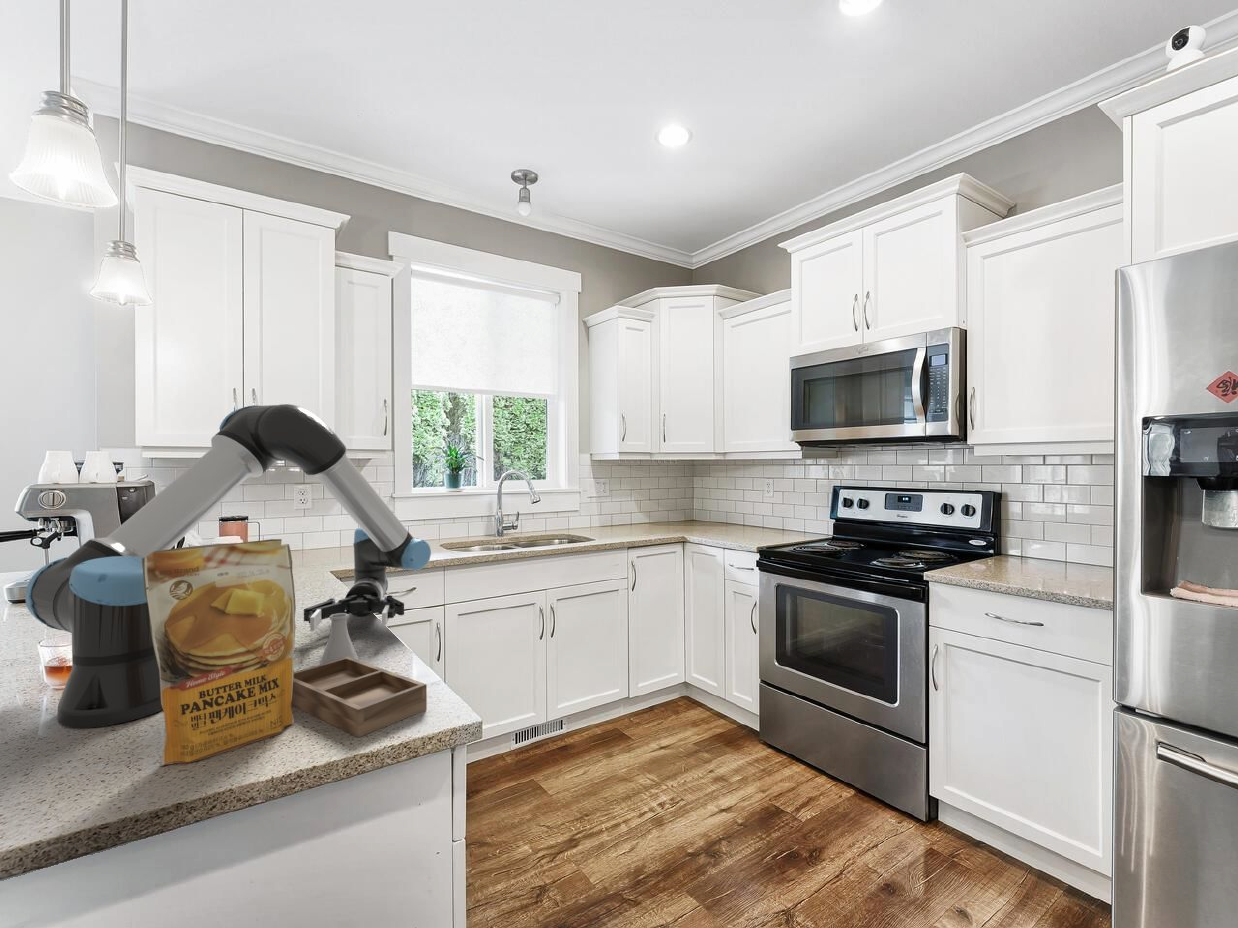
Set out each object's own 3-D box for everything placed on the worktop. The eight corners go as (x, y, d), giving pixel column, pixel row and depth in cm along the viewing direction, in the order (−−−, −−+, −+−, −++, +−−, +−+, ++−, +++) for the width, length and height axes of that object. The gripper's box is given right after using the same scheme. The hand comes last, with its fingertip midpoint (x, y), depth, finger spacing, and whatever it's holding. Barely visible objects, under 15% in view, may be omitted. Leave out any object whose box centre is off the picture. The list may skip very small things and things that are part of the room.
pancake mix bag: (138, 760, 80) (135, 549, 80) (291, 712, 95) (289, 534, 94) (151, 777, 76) (148, 555, 75) (309, 725, 90) (307, 538, 90)
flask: (318, 677, 110) (317, 622, 110) (317, 664, 116) (317, 612, 116) (361, 670, 113) (361, 617, 113) (358, 658, 120) (358, 608, 119)
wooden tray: (426, 709, 96) (426, 684, 96) (358, 737, 86) (358, 709, 86) (348, 678, 109) (348, 656, 109) (281, 699, 99) (281, 675, 99)
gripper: (419, 609, 148) (412, 635, 127) (307, 616, 141) (281, 644, 121) (419, 578, 148) (412, 599, 127) (307, 584, 141) (280, 607, 121)
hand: (348, 621), depth 124 cm, fingers open, 13 cm apart
